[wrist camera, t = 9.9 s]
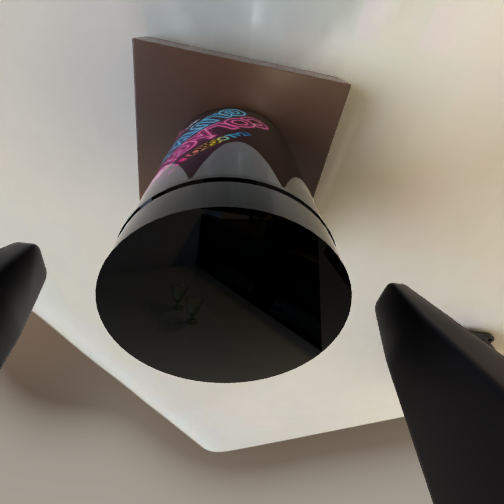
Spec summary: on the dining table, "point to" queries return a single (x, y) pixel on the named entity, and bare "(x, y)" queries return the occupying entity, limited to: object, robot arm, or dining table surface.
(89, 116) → the dining table surface
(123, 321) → the supplement container
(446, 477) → the robot arm
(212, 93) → the walnut block
